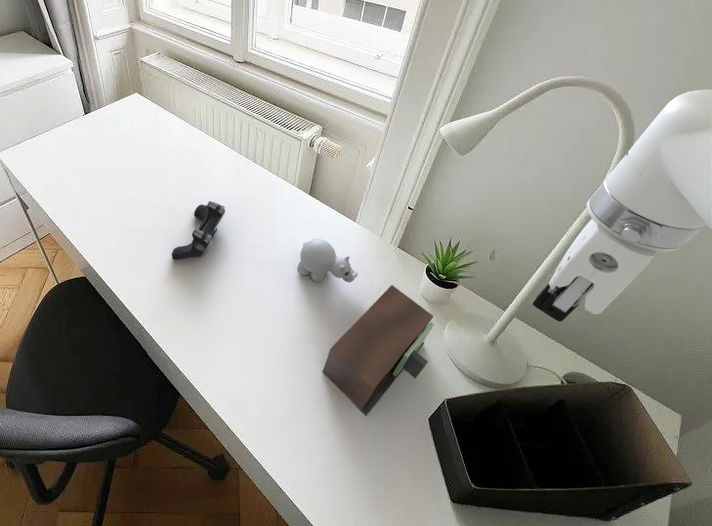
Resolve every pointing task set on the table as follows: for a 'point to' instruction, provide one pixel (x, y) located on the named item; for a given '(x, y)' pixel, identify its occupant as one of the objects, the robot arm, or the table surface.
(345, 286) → the table surface
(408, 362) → the sliding door
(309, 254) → the round bodied animal figurine
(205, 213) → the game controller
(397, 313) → the cabinet
